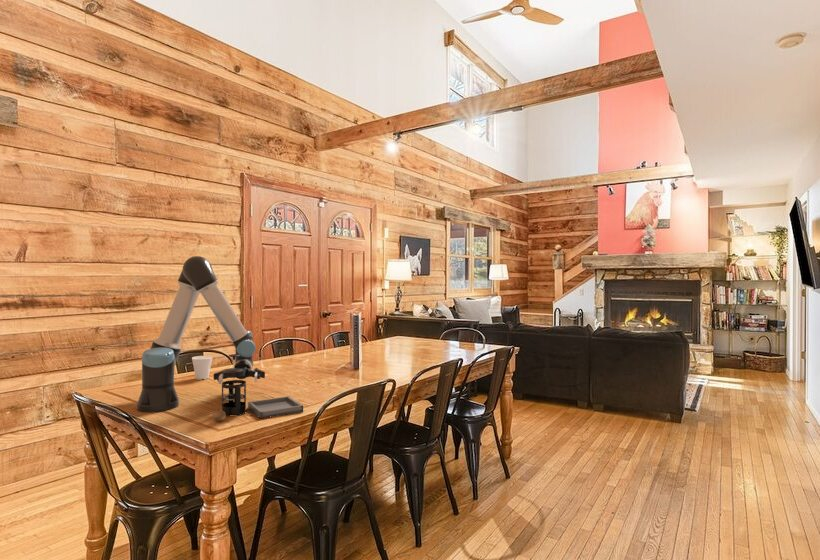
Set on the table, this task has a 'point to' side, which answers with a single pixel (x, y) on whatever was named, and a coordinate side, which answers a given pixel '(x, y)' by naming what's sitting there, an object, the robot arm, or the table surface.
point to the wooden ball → (220, 415)
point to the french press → (235, 403)
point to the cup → (202, 366)
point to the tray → (275, 406)
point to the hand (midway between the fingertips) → (237, 379)
